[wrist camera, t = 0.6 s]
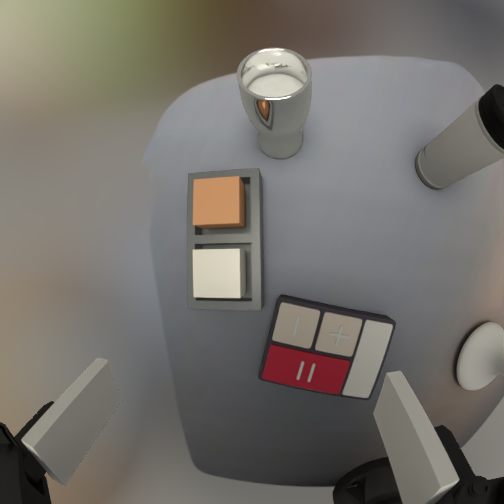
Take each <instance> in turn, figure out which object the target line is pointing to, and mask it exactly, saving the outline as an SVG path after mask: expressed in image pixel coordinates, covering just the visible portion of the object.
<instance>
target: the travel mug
mask: <svg viewBox="0 0 504 504" xmlns="http://www.w3.org/2000/svg"><path fill="white" fill-rule="evenodd" d="M502 158H504V87H503V86H501V85H498V84H496V85H494V86H493V87H492V88H491V89H490V90H489V91H488V92H486V93H485V95H483V96H482V97H480V98H479V99H478V100H477V101H476V102H475V103H474V104H473V105H472V106H470V107H469V108H468V109H467V110H466V111H465V112H464V113H463V114H462V115H461V116H459V117H458V118H457V119H456V120H455V121H454V122H453V123H452V124H451V125H449V126H448V127H447V128H446V129H445V130H444V131H443V132H442V133H440V134H439V135H438V136H437V137H436V138H435V139H434V140H432V141H431V142H430V143H429V144H428V145H427V146H426V147H424V148H423V149H422V150H421V151H420V152H419V153H418V154H417V157H416V161H415V165H416V170H417V173H418V175H419V177H420V179H421V180H422V181H423V182H424V183H425V184H426V185H427V186H428V187H430V188H433V189H442V188H444V187H446V186H448V185H450V184H452V183H454V182H456V181H458V180H460V179H462V178H464V177H466V176H468V175H470V174H472V173H474V172H476V171H478V170H480V169H482V168H484V167H486V166H488V165H490V164H492V163H494V162H496V161H498V160H500V159H502Z"/></svg>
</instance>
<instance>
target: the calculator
mask: <svg viewBox="0 0 504 504" xmlns="http://www.w3.org/2000/svg"><path fill="white" fill-rule="evenodd" d="M395 325H396V322H395V321H394V320H392V319H391V318H389V317H388V316H385V315H380V314H375V313H369V312H364V311H357V310H352V309H347V308H343V307H338V306H333V305H328V304H324V303H319V302H315V301H310V300H305V299H301V298H296V297H292V296H287V295H280V296H279V298H278V300H277V303H276V308H275V312H274V316H273V320H272V324H271V328H270V332H269V336H268V340H267V344H266V348H265V352H264V356H263V360H262V364H261V368H260V371H259V375H258V378H259V379H260V380H263V381H267V382H271V383H275V384H279V385H284V386H288V387H293V388H298V389H302V390H307V391H312V392H318V393H323V394H329V395H335V396H341V397H348V398H355V399H363V400H368V399H370V398H371V395H372V393H373V390H374V388H375V385H376V383H377V380H378V377H379V375H380V372H381V369H382V366H383V364H384V361H385V358H386V355H387V352H388V349H389V345H390V342H391V339H392V336H393V332H394V329H395Z"/></svg>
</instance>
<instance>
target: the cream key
mask: <svg viewBox="0 0 504 504" xmlns="http://www.w3.org/2000/svg"><path fill="white" fill-rule="evenodd" d="M193 294H194V297H204V298H241V297H242V296H244V295H245V294H246V250H243V249H200V250H193Z"/></svg>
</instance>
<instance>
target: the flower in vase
mask: <svg viewBox="0 0 504 504" xmlns="http://www.w3.org/2000/svg"><path fill="white" fill-rule="evenodd" d="M497 375H500V376H503V377H504V330H503V328H502V327H501V326H500V325H499V324H498V323H496V322H487V323H484V324H482V325H481V326H479V327H478V328H477V329H476V330H474V331H473V332H472V333H471V335H470V336H469V337H468V339H467V340H466V342H465V343H464V345H463V347H462V349H461V352H460V355H459V358H458V362H457V379H458V382H459V384H460V386H461V387H462V388H464V389H466V390H478V389H481V388H482V387H484V386H486V385H487V384H489V383H490V382H491V381H492V380H493V379H494V378H495V377H496V376H497Z"/></svg>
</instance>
